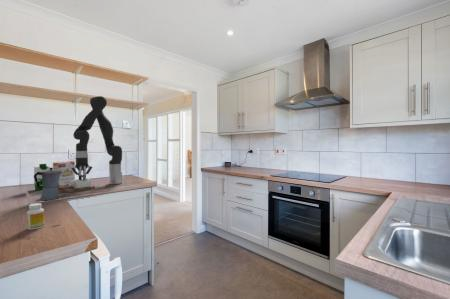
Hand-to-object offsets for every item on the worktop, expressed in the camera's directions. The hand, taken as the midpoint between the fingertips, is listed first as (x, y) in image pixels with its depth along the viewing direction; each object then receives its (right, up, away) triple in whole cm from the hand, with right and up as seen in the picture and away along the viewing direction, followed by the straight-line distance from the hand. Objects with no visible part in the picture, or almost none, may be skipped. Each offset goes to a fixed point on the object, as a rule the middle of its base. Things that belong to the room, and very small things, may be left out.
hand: (82, 179), depth 161 cm
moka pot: (-3, -9, -27) cm, 28 cm away
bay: (-3, -8, -3) cm, 9 cm away
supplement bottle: (+28, -10, -71) cm, 77 cm away
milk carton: (-30, -8, 0) cm, 31 cm away
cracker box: (-19, -8, +8) cm, 22 cm away
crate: (0, -7, 0) cm, 7 cm away
